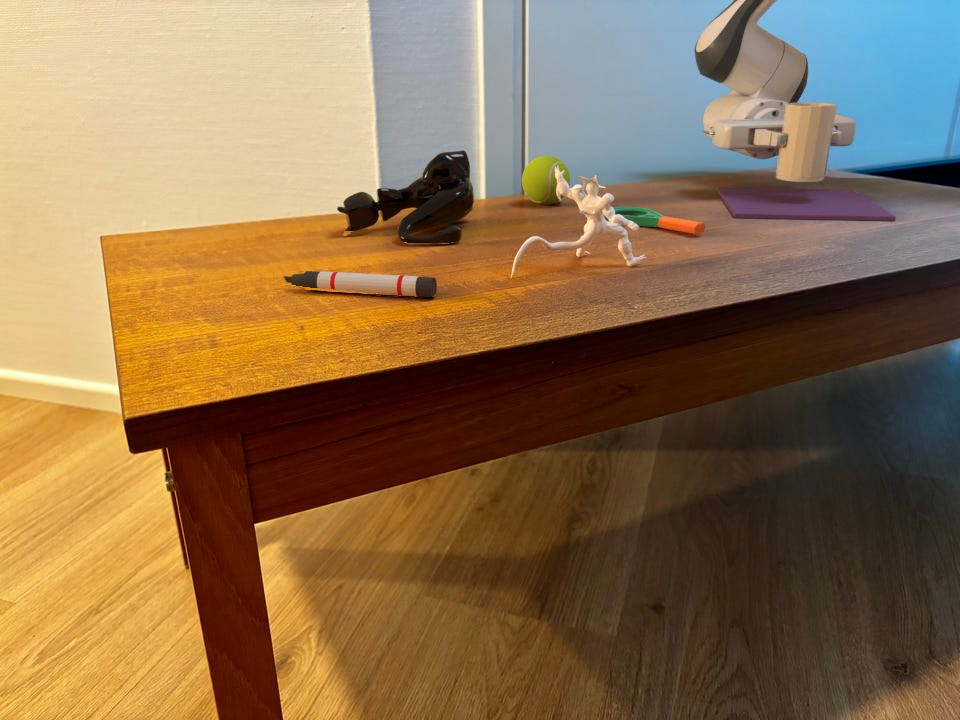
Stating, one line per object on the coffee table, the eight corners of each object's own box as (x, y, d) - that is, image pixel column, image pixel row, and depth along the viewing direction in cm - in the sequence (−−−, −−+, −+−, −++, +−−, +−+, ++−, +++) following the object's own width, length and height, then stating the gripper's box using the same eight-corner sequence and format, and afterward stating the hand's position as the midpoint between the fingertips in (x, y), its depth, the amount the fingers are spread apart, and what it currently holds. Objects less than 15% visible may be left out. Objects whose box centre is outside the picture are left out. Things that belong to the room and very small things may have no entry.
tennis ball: (578, 203, 109) (580, 155, 107) (550, 211, 104) (551, 160, 102) (540, 198, 114) (541, 151, 111) (512, 205, 109) (512, 156, 106)
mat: (850, 193, 113) (851, 189, 113) (895, 221, 95) (896, 216, 95) (716, 191, 117) (716, 187, 116) (734, 218, 98) (735, 213, 98)
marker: (437, 294, 70) (436, 274, 69) (431, 301, 68) (430, 280, 67) (289, 286, 73) (287, 267, 72) (280, 292, 71) (277, 272, 71)
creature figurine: (659, 244, 79) (633, 154, 70) (635, 323, 73) (604, 235, 65) (561, 248, 84) (526, 165, 76) (532, 322, 79) (491, 240, 70)
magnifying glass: (594, 219, 99) (595, 206, 98) (626, 213, 102) (627, 201, 101) (682, 240, 87) (684, 226, 87) (715, 233, 91) (717, 219, 90)
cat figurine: (507, 256, 92) (371, 298, 88) (464, 205, 102) (339, 240, 97) (504, 185, 86) (356, 227, 81) (458, 138, 95) (324, 173, 90)
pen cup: (817, 175, 107) (830, 102, 103) (829, 182, 101) (842, 106, 97) (771, 174, 108) (782, 102, 104) (780, 181, 102) (791, 106, 98)
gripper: (700, 109, 112) (740, 117, 99) (827, 105, 114) (882, 113, 101) (696, 151, 114) (734, 164, 102) (820, 147, 116) (873, 160, 104)
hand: (809, 139), depth 102 cm, fingers closed on pen cup, 6 cm apart
